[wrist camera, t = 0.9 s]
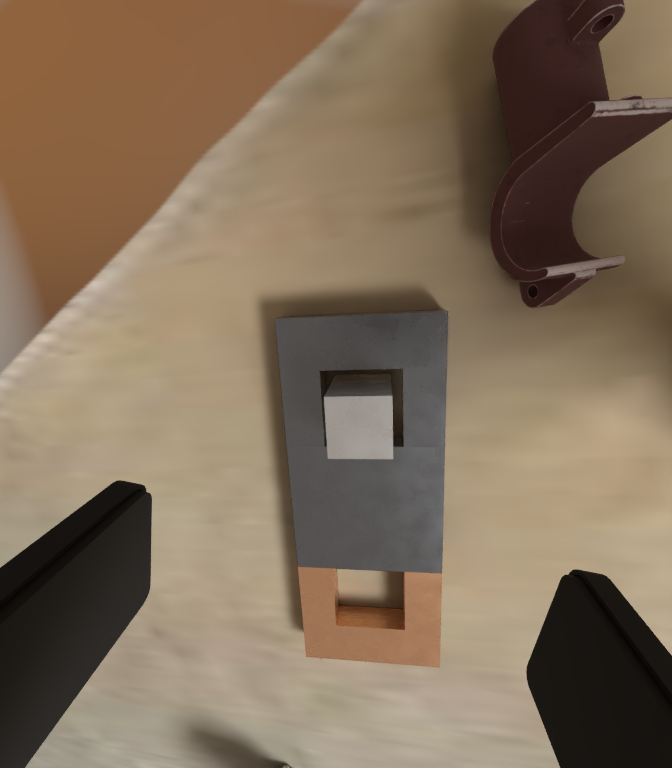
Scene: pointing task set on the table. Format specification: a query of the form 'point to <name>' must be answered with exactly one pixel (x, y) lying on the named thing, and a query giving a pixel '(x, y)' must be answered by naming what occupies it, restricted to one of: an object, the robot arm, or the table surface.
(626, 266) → the table surface
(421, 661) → the grey copper flat plate
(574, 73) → the bracket
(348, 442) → the grey rectangular block
